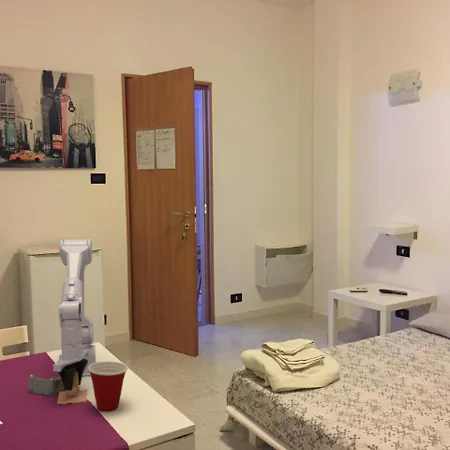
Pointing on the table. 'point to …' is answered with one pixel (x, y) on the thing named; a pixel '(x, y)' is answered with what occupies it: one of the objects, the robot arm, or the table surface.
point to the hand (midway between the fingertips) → (72, 387)
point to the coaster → (72, 397)
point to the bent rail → (45, 385)
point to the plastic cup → (107, 383)
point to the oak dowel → (74, 385)
